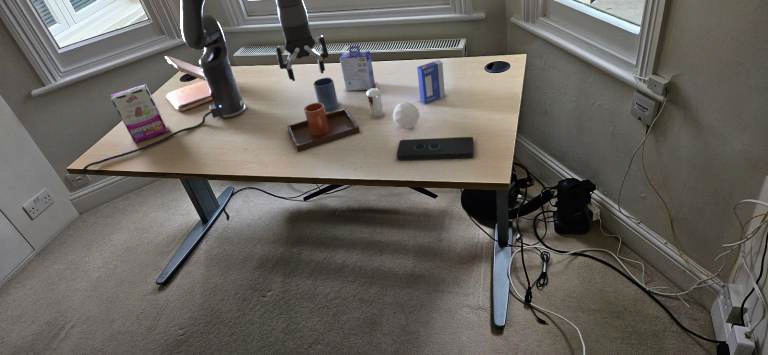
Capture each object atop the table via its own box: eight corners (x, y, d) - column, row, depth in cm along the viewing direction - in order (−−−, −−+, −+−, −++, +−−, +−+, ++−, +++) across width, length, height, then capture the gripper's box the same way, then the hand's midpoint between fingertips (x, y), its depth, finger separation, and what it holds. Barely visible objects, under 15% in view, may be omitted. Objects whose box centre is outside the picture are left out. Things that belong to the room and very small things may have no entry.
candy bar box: (166, 126, 163) (146, 83, 154) (168, 132, 159) (147, 87, 150) (133, 137, 160) (110, 94, 150) (134, 143, 156) (110, 99, 147)
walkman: (425, 104, 149) (421, 68, 142) (420, 101, 151) (416, 66, 144) (445, 96, 151) (443, 61, 145) (441, 93, 154) (438, 58, 147)
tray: (298, 152, 136) (296, 146, 135) (289, 131, 147) (287, 125, 146) (360, 132, 140) (358, 126, 139) (346, 114, 151) (345, 108, 150)
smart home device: (400, 139, 130) (473, 135, 126) (400, 144, 131) (473, 141, 127) (396, 155, 124) (473, 152, 120) (397, 161, 125) (473, 158, 121)
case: (233, 93, 179) (218, 53, 170) (178, 113, 171) (160, 72, 162) (216, 79, 194) (202, 41, 185) (165, 97, 185) (148, 59, 176)
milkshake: (388, 111, 148) (383, 82, 143) (381, 120, 145) (376, 90, 139) (375, 110, 150) (370, 82, 145) (368, 118, 146) (362, 89, 141)
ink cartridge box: (375, 83, 168) (369, 43, 160) (372, 89, 164) (365, 50, 155) (349, 84, 170) (341, 45, 162) (345, 91, 166) (337, 51, 158)
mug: (308, 129, 145) (302, 106, 141) (326, 123, 147) (320, 100, 142) (314, 141, 139) (308, 117, 134) (333, 135, 140) (327, 111, 135)
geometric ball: (402, 133, 141) (389, 110, 141) (425, 121, 140) (413, 97, 140) (398, 134, 134) (385, 109, 134) (423, 121, 132) (410, 96, 132)
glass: (322, 113, 154) (315, 88, 149) (317, 105, 160) (311, 81, 154) (340, 107, 156) (335, 82, 151) (335, 100, 161) (330, 76, 156)
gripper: (316, 11, 131) (328, 66, 141) (266, 23, 129) (281, 78, 138) (322, 18, 126) (334, 74, 135) (270, 30, 123) (285, 87, 132)
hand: (307, 76), depth 136 cm, fingers open, 8 cm apart
